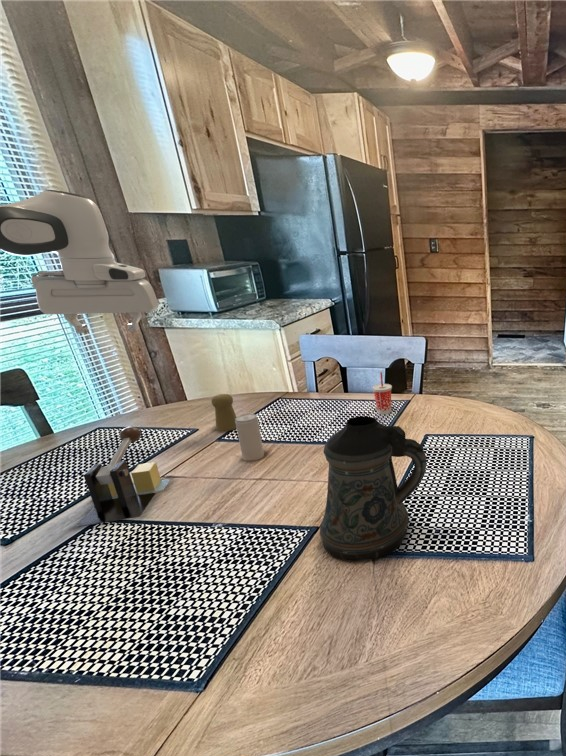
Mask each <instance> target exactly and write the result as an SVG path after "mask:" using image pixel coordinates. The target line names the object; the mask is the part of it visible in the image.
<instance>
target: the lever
mask: <svg viewBox="0 0 566 756" xmlns="http://www.w3.org/2000/svg"><path fill="white" fill-rule="evenodd" d="M141 436H142V432H141V430H140V429H139V428H138V427H136V426H127V427H124V428H123V429H121V430H120V432H119V439H120V440H121V442H120V444H119V446H118V447H117V450H116V451H115V453H114V455H113V457H112V458H111V459H110V462H109V463H108V465H106V466H102V467H101V468H100V470H99V472H98V474H97V475H96V478H97V480H98V482H99V483H100V485H105V484H112V483H113V480H112V477H111V474H110V471H111V470H112V469H113V467H114V466H115V465H116V464H117V463H118V462H119V461H122V458H124V455H125V454H126V451H127V450H128V448H129V446H130V444H132V443H135V442H137V441H138V440H139V439H140V438H141Z"/></svg>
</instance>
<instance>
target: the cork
mask: <svg viewBox="0 0 566 756" xmlns="http://www.w3.org/2000/svg"><path fill="white" fill-rule="evenodd" d="M210 403H211V405H212V406H213V407H214V412H215V413H214V415H215V430H216V431H217V432H230V431H234V430H237V428H236V423H235V421H236V420H235V419H236V418H237V417H238V416H237V414H236V412H235V409H234V407H233V403H234V398H233V396H232V395H231V394H228V393H219V394H216V395H214V396H212V397H211V401H210Z"/></svg>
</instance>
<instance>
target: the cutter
mask: <svg viewBox="0 0 566 756" xmlns="http://www.w3.org/2000/svg"><path fill="white" fill-rule="evenodd" d="M101 467H103V465H102V463H95V464H93V465H92V466H91V467H90V468H89V469H88V470H87V471H86V472H85V473H84V474H83V478H84V481H85V484H86V486H87V489H88V491H89V492H88V493H89V495H90V498H91V501H92V503H93V507H92V508H91V509H90V510H89V511H88V513H87V514H86V515H85V516H84V517H83V519H82V520H81V521H79V523H78V524H77V525H76V528H80V527H85V526H92V525H97V524H103V523H110V522H115V521H121V520H128V519H131V518H132V519H133V518H139V517H141V516H142V514H143V513H144V512H145V510H146V509H147V507H148V506H149V505H150V503H151V501H152V500H153V499H154V497H155V495H156V494H157V492H158V491H155V492H148V493H142V494H136V492H135V489H134V485H133V484H134V481H133V478H132V475H131V472H130V469H129V467H128V464H127V460H121V461H119V462H118V463H117V464H116V465H115V466H114V467H113V469H112V470H111V471H110V474H111V477H112V480H113V483H114V486H115V489H116V492H117V495H118V497H115V498H112V495H111V492H110V489H109V486H108V484H105V485H100V483H99V482H98V480H97V478H96V475H97V474H98V472H99V470H100V468H101Z"/></svg>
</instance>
